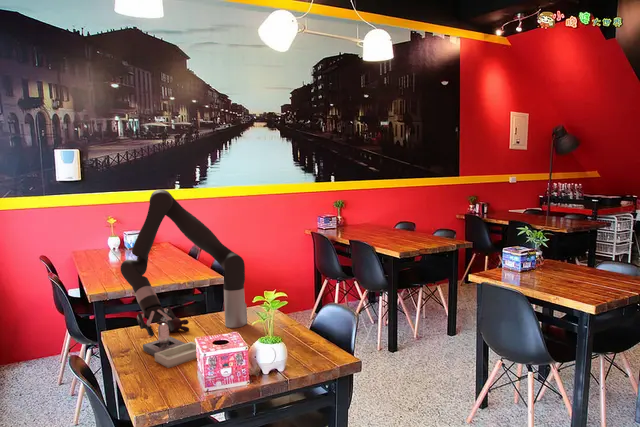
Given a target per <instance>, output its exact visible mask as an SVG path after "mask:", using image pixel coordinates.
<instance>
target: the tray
mask: <svg viewBox="0 0 640 427" xmlns="http://www.w3.org/2000/svg"><path fill="white" fill-rule="evenodd" d="M185 343H186V344H182V345H179V346H176V347H173V348H170V349H167V350H163V351H160V352H157V353H154V354H155V357H154V361H155V362H156V363H158V364H160V365H162V366H164V367H165V368H167V369H170V368H173V367H177V366H178V365H181V364H184V363H188V362H190V361H192V360H196V359H197V358H196V342H194V341H188V342H185Z"/></svg>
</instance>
